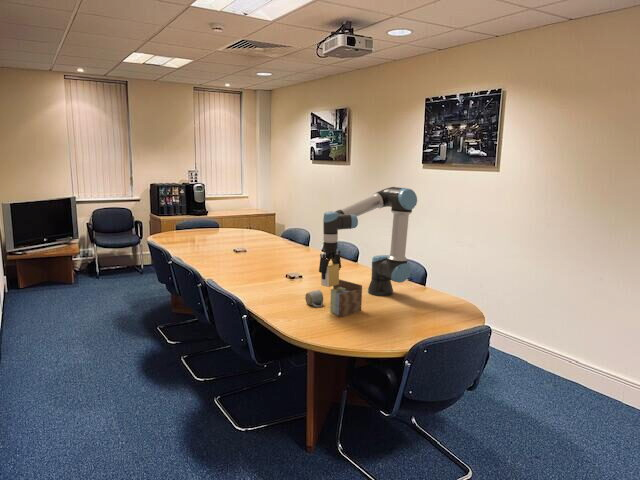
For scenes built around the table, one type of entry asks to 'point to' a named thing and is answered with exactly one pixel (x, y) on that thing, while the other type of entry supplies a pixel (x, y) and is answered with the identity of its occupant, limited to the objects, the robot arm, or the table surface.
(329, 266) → the ochre book
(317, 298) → the ceramic mug
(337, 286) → the brown wooden box
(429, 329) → the table surface
